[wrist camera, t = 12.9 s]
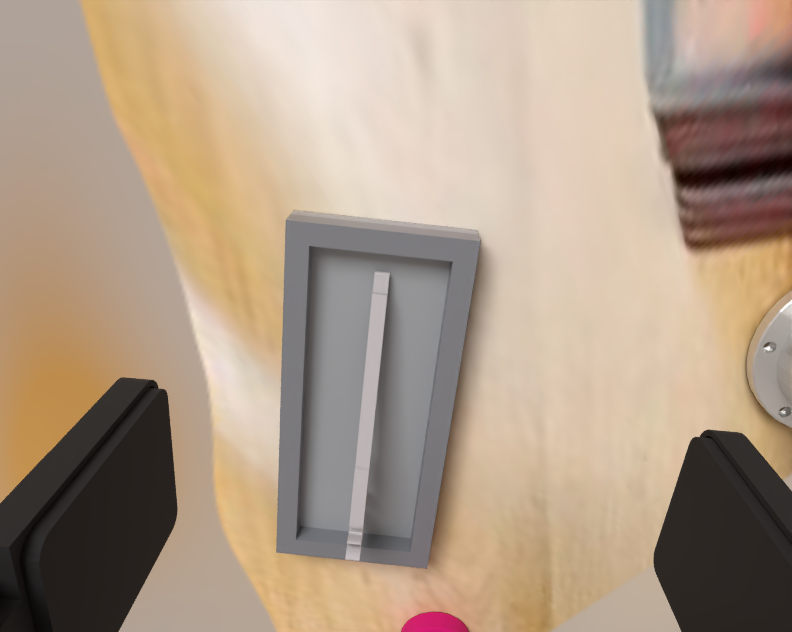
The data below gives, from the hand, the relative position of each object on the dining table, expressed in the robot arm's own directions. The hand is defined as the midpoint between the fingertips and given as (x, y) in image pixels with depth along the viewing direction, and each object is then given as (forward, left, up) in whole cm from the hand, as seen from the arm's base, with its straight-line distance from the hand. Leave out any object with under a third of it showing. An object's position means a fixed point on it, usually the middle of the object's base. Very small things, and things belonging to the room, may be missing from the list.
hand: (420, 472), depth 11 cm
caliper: (+2, +17, -29) cm, 33 cm away
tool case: (+2, +17, -30) cm, 34 cm away
